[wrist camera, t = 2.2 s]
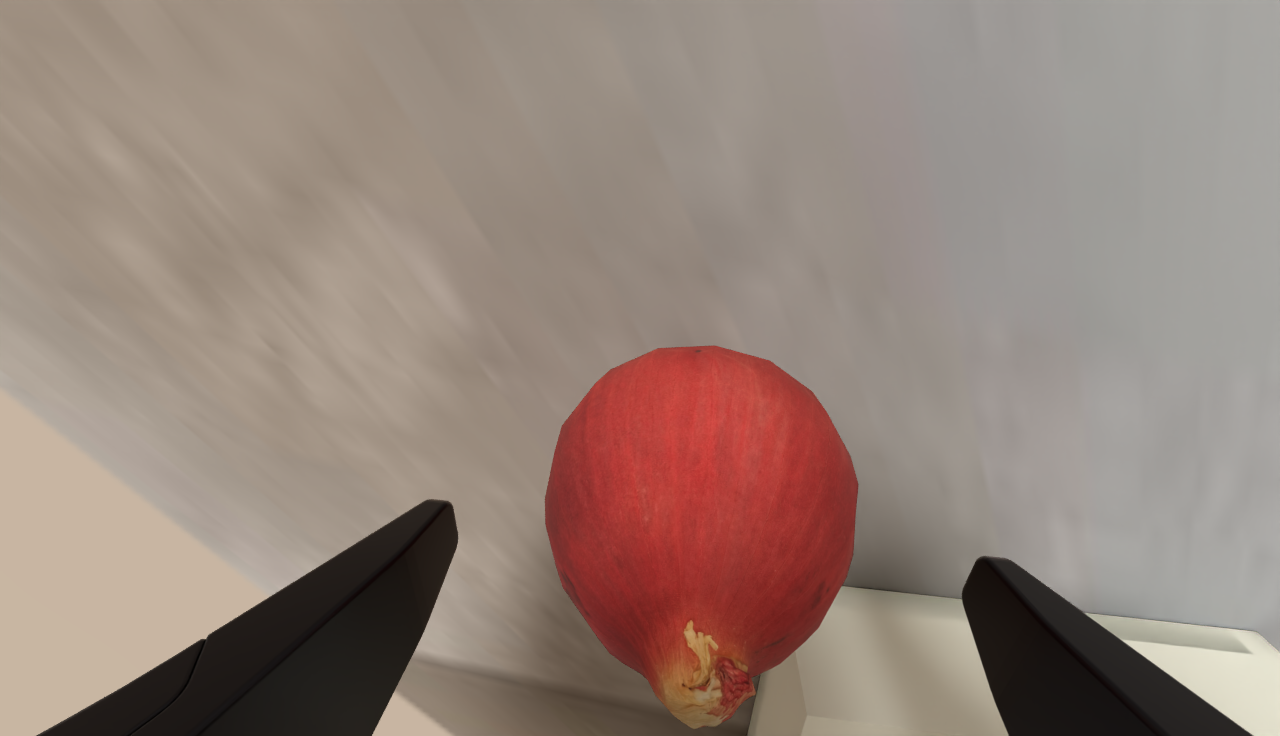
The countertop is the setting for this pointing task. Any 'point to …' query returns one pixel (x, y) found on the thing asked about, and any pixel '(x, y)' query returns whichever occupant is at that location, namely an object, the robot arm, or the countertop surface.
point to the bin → (976, 671)
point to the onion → (701, 521)
